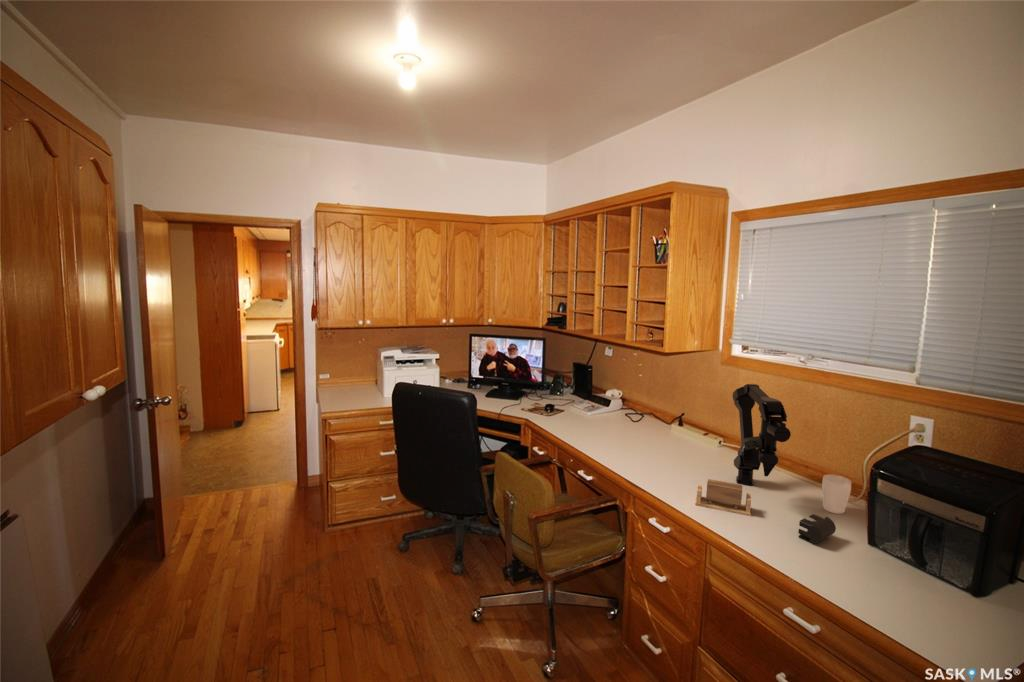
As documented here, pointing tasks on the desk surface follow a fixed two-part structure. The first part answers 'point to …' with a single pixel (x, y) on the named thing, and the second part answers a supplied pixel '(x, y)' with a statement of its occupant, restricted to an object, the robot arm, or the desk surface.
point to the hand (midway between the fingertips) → (765, 471)
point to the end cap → (816, 529)
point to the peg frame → (724, 504)
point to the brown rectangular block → (724, 492)
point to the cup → (835, 493)
